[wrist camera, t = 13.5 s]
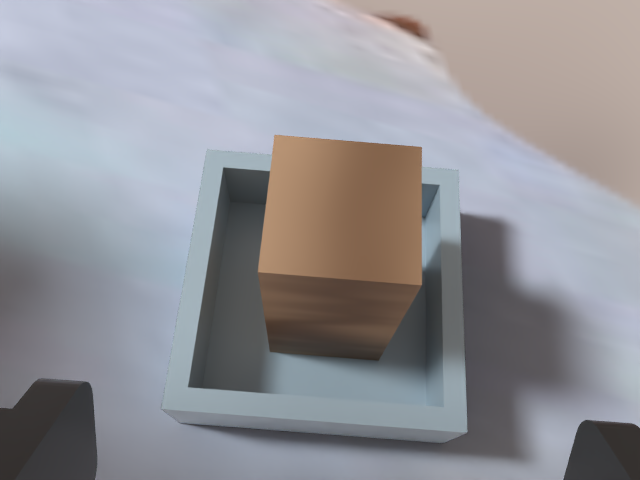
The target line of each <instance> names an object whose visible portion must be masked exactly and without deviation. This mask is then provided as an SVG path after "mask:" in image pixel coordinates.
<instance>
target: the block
mask: <svg viewBox="0 0 640 480" xmlns="http://www.w3.org/2000/svg"><path fill="white" fill-rule="evenodd" d="M258 277H259V284H260V291H261V297H262V304H263V310H264V317H265V323H266V330H267V337H268V343H269V350H270V352H277V353H289V354H302V355H314V356H327V357H339V358H352V359H364V360H377V361H379V359H380V357H381V356H382V354H383V352H384V350H385V349H386V347H387V345H388V344H389V342H390V340H391V338H392V337H393V335H394V333H395V331H396V330H397V328H398V326H399V324H400V323H401V321H402V319H403V317H404V316H405V314H406V312H407V310H408V309H409V307H410V305H411V304H412V302H413V300H414V298H415V297H416V295H417V293H418V291H419V290H420V288H421V286H422V147H415V146H403V145H391V144H378V143H366V142H354V141H342V140H330V139H318V138H306V137H294V136H282V135H275V136H274V144H273V152H272V160H271V168H270V177H269V185H268V193H267V201H266V209H265V217H264V225H263V233H262V241H261V249H260V257H259V266H258Z"/></svg>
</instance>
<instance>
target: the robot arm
mask: <svg viewBox="0 0 640 480" xmlns="http://www.w3.org/2000/svg"><path fill="white" fill-rule="evenodd" d="M96 469H97V448H96V434H95V420H94V405H93V393H92V388H91V385H90V384H89V383H88V382H83V381H70V380H56V379H43V378H41V379H38V380H37V381H35V382H34V383H33V385H32V386H31V387H30V388H29V389H28V391H27V392H26V393H25V394H24V396H23V397H22V398H21V399H20V400H19V402H18V403H17V404H16V405H15V407H14V408H13V409H7V408H0V480H95V476H96ZM564 480H640V428H639V427H638V426H636V425H635V424H632V423H619V422H606V421H592V420H585V421H583V422H582V423H581V424H580V425H579V427H578V430H577V433H576V436H575V440H574V444H573V447H572V451H571V454H570V458H569V462H568V465H567V469H566V472H565V476H564Z"/></svg>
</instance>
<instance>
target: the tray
mask: <svg viewBox="0 0 640 480" xmlns="http://www.w3.org/2000/svg"><path fill="white" fill-rule="evenodd" d="M271 160H272V155H269V154H257V153H245V152H232V151H220V150H208V149H207V151H206V157H205V163H204V168H203V174H202V180H201V185H200V191H199V197H198V202H197V208H196V214H195V219H194V225H193V230H192V236H191V242H190V247H189V253H188V259H187V264H186V270H185V276H184V281H183V287H182V293H181V298H180V304H179V309H178V315H177V321H176V326H175V332H174V338H173V343H172V349H171V355H170V360H169V366H168V372H167V377H166V383H165V388H164V394H163V400H162V405H161V410H163V411H164V412H165V413H167V414H168V415H169V416H171V417H172V418H173V419H175V420H176V421H177V422H179V423H187V424H200V425H213V426H226V427H239V428H252V429H265V430H278V431H291V432H304V433H317V434H330V435H343V436H356V437H369V438H382V439H395V440H408V441H421V442H433V443H445V442H447V441H450V440H452V439H454V438H457V437H459V436H461V435H463V434H466V433H468V432H467V403H466V374H465V345H464V316H463V286H462V257H461V228H460V199H459V170H454V169H442V168H430V167H422V286H421V288H420V290H419V291H418V293H417V295H416V297H415V298H414V300H413V302H412V304H411V305H410V307H409V309H408V310H407V312H406V314H405V316H404V317H403V319H402V321H401V323H400V324H399V326H398V328H397V330H396V331H395V333H394V335H393V337H392V338H391V340H390V342H389V344H388V345H387V347H386V349H385V350H384V352H383V354H382V356H381V357H380V359H379V361H377V360H364V359H352V358H339V357H327V356H314V355H302V354H289V353H277V352H270V350H269V343H268V337H267V330H266V323H265V317H264V310H263V304H262V297H261V291H260V284H259V277H258V266H259V257H260V249H261V241H262V233H263V225H264V217H265V209H266V201H267V193H268V185H269V177H270V168H271Z"/></svg>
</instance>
